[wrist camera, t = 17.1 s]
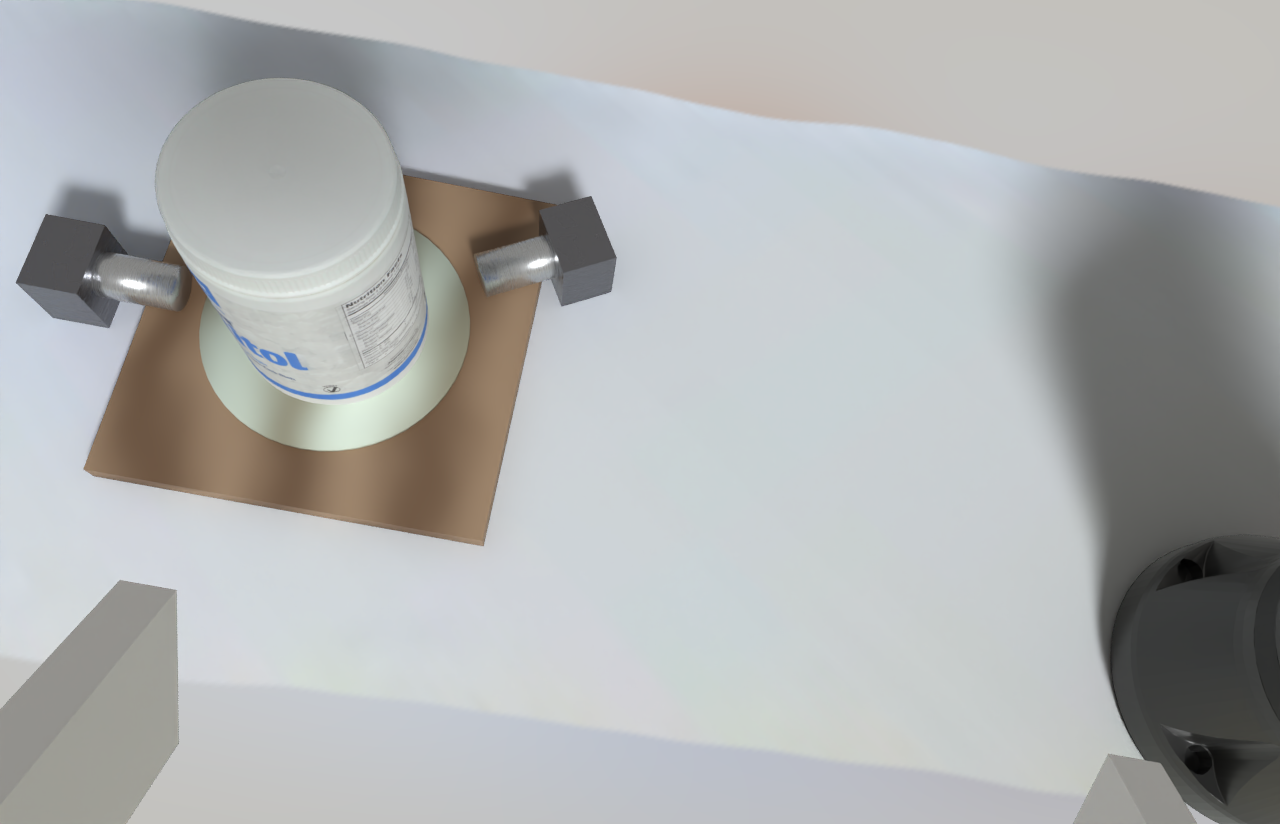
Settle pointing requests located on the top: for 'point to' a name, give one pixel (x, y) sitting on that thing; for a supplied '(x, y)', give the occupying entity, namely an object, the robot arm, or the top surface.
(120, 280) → the shaft
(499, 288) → the shaft
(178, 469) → the board
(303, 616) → the top surface
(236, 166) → the supplement tub
